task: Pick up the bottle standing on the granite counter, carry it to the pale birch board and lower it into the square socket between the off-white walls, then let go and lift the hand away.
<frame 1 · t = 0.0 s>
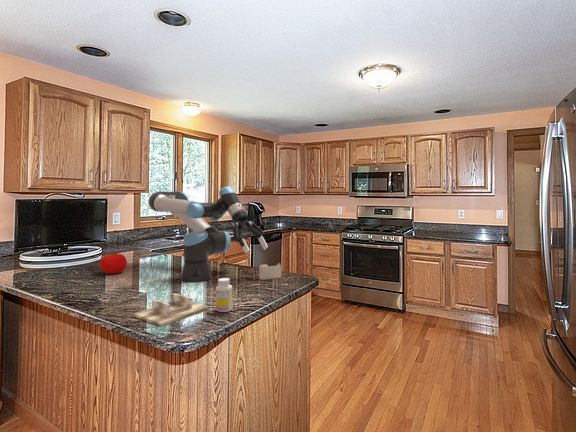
hand: (257, 250, 164), 15 cm above the countertop, tool tilted 35°, fingers open, 13 cm apart
model: (270, 279, 171), on the countertop
tomato: (113, 273, 183), on the countertop
bottle dock: (172, 312, 121), on the countertop
supplement bottle: (224, 310, 124), on the countertop
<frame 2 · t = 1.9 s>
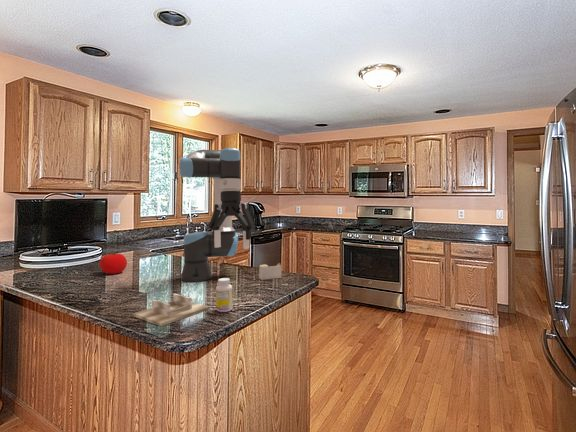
hand: (231, 248, 126), 22 cm above the countertop, tool pointing down, fingers open, 13 cm apart
nothing on the countertop moved.
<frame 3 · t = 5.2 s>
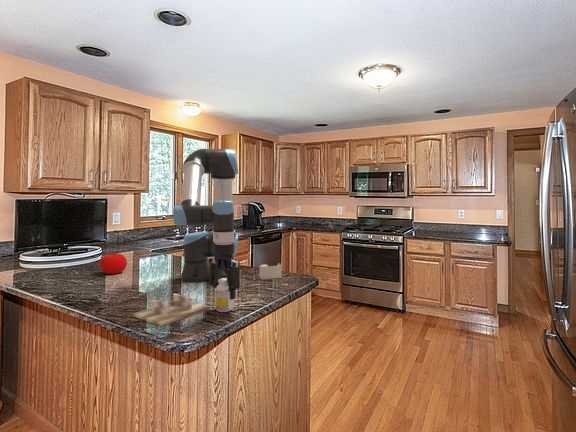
hand: (224, 305, 124), 1 cm above the countertop, tool pointing down, fingers closed on supplement bottle, 6 cm apart
supplement bottle: (224, 310, 124), on the countertop, touching gripper
everything else where it was.
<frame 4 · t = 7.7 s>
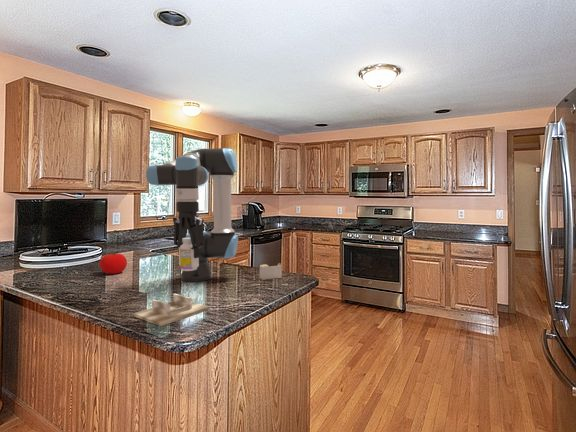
hand: (188, 265, 121), 17 cm above the countertop, tool pointing down, fingers closed on supplement bottle, 6 cm apart
supplement bottle: (189, 270, 121), point 15 cm above the countertop, touching gripper
everything else where it was.
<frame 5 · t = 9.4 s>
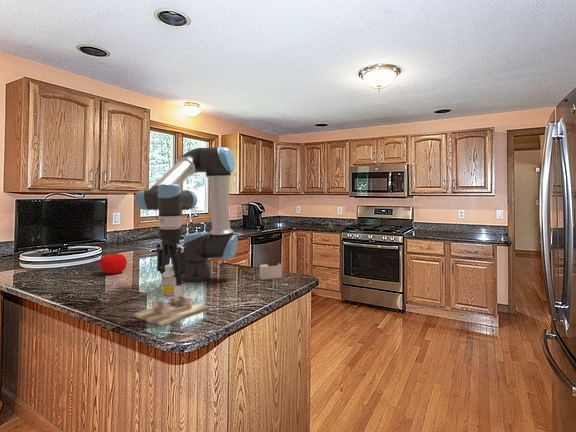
hand: (171, 292, 120), 7 cm above the countertop, tool pointing down, fingers closed on supplement bottle, 6 cm apart
supplement bottle: (171, 297, 121), point 6 cm above the countertop, touching gripper
everything else where it was.
when the fingers open (4 cm above the countertop, at t = 10.6 s): supplement bottle drops 2 cm, resting on bottle dock.
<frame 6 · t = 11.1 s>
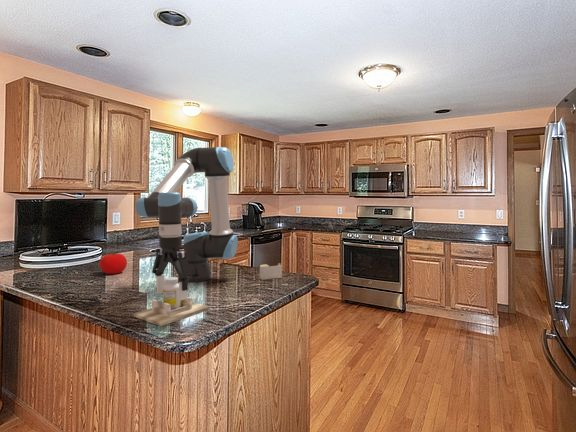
hand: (171, 296, 121), 6 cm above the countertop, tool pointing down, fingers open, 12 cm apart
supplement bottle: (172, 310, 121), point 1 cm above the countertop, touching bottle dock
everything else where it was.
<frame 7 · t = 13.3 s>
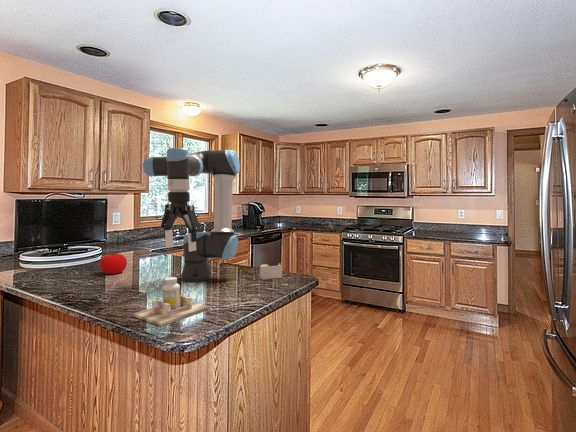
hand: (180, 249, 125), 22 cm above the countertop, tool pointing down, fingers open, 13 cm apart
nothing on the countertop moved.
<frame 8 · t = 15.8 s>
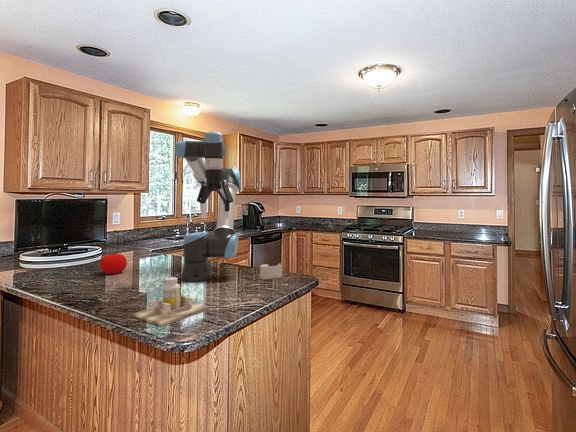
hand: (214, 218, 146), 32 cm above the countertop, tool pointing down, fingers open, 13 cm apart
nothing on the countertop moved.
at the end: supplement bottle 0.2 cm from the bottle dock (horizontally); supplement bottle point 0.8 cm above the countertop; supplement bottle tilted 0° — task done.
